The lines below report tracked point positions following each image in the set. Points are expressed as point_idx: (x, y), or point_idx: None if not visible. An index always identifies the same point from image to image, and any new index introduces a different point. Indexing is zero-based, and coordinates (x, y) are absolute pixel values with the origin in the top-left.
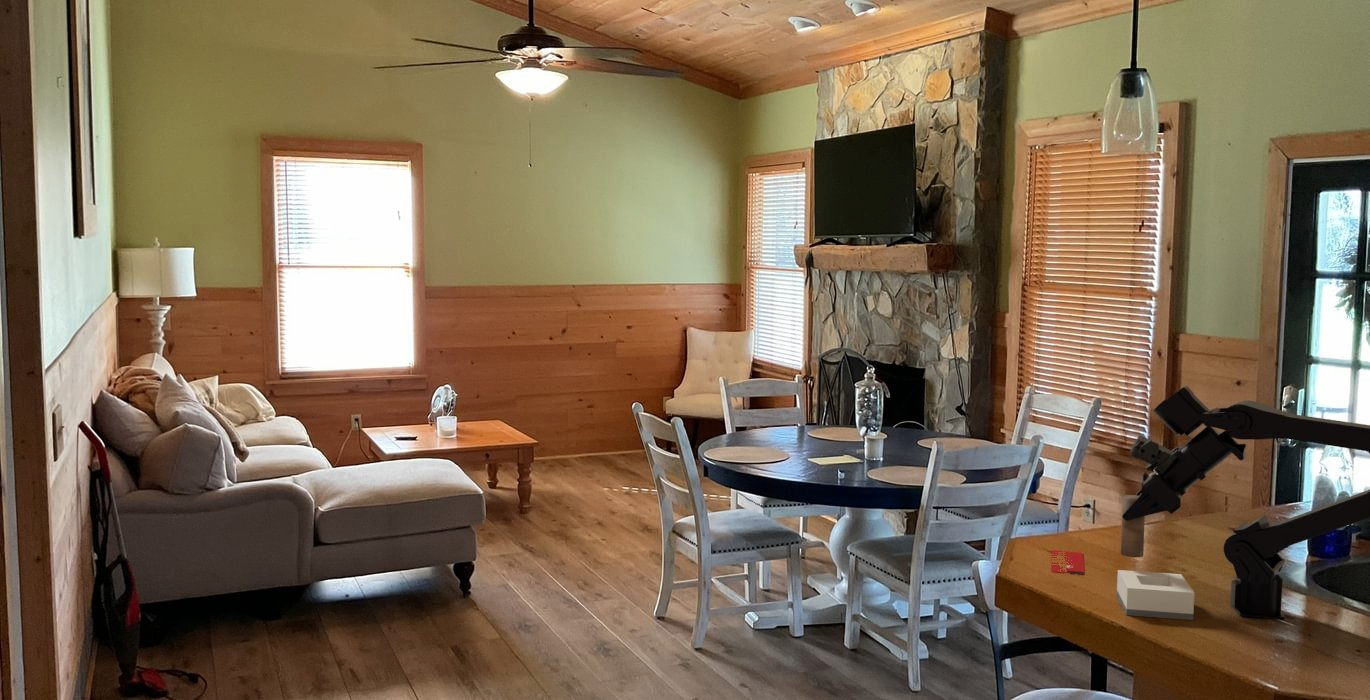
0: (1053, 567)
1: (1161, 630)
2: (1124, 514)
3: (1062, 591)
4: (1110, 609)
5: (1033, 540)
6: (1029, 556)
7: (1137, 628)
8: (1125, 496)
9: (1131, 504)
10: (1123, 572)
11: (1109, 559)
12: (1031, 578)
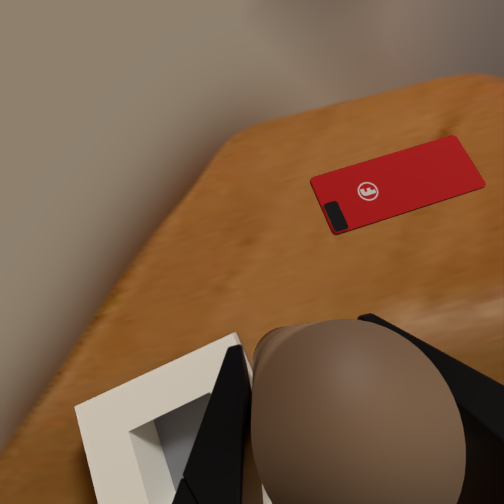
0: (339, 173)
1: (45, 490)
2: (223, 363)
3: (198, 234)
4: (135, 348)
5: (491, 89)
6: (380, 117)
7: (35, 436)
8: (345, 345)
9: (240, 425)
10: (216, 353)
11: (488, 241)
12: (244, 164)
